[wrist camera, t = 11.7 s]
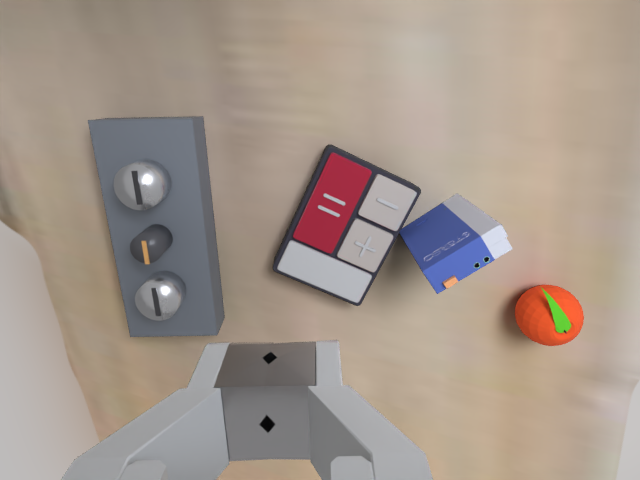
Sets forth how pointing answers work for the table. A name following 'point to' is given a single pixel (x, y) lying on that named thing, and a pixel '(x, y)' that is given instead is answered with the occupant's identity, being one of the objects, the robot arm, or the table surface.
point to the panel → (164, 218)
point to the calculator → (345, 225)
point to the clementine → (549, 315)
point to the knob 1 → (142, 184)
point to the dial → (151, 243)
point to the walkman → (454, 241)
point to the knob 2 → (160, 295)
